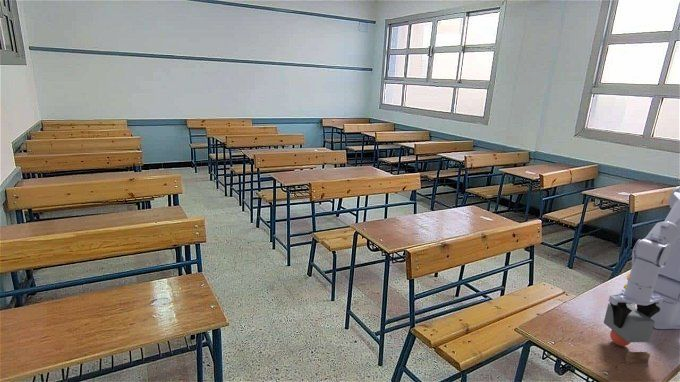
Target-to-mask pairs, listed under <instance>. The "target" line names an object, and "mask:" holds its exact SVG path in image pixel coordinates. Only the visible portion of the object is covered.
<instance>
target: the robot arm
mask: <svg viewBox="0 0 680 382" xmlns="http://www.w3.org/2000/svg"><path fill="white" fill-rule="evenodd" d="M668 204H669V208H670V211H669V213H668V214H667V215H666V217H665V219H664V220H663V221H659V222H657V223H656V224H655V225H654V226H653V227H652V228H651V229H650V231H649V232H648V234H647V235H646V236H645V237H644V238H643V239H642V238H640V239H638V240H637V241H636V242H635V245H634V246H633V248H632V252H631V254H632V255H631V257H632V259H631V261H630V262H631V264H632V266H631V269H630V273H629V274H630V275H629V279H628V280H627V283H626V284H627V285H626V284H625V285H626V289H625V288H623V289H621V292H619V293H616V294H610V295H609V298H608V302H609V304H611V307H612V311H613V322H614V325H616V326H617V327H618V328H622V326H623V324H624V322H625V319H626V317H627V316H628V315H629V313H630V312H631V311H632V310H631V309H629V308H628V307H627V305H626V304H629V305H631V304H633V305H636V309H637V310H638V311H640V312H641V313H643V314H644V315H646V316H647V317H649V318H651V319H652V320H654V321H655V323H654V327H653V329H654V328H655V329H656V330H679V329H680V186H676V187H675V188H673V190H672V192H671V193H670V196H669V199H668Z"/></svg>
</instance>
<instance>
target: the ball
mask: <svg viewBox="0 0 680 382" xmlns="http://www.w3.org/2000/svg"><path fill="white" fill-rule="evenodd" d="M609 333H610V334H609V336H610V339H611V341H612V342H613V343H614V344H616V345H618V346H622V347H626V346H629V345H630V344H631V343H632V342H630V343H629V342H628V341H626V340H625V339H624V338H622V337H621V336H620V335H618V334H617V333H616V332H615V331H613V330H612V329H611V331H610V332H609Z"/></svg>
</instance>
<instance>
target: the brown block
mask: <svg viewBox="0 0 680 382" xmlns="http://www.w3.org/2000/svg"><path fill="white" fill-rule="evenodd" d="M650 358H651V353H649V352H648V351H632V352H631V351H628V352H626V355H625V358H624V361H625V362H626V363H627V364H628V363H633V364H634V363H649V360H650Z"/></svg>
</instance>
